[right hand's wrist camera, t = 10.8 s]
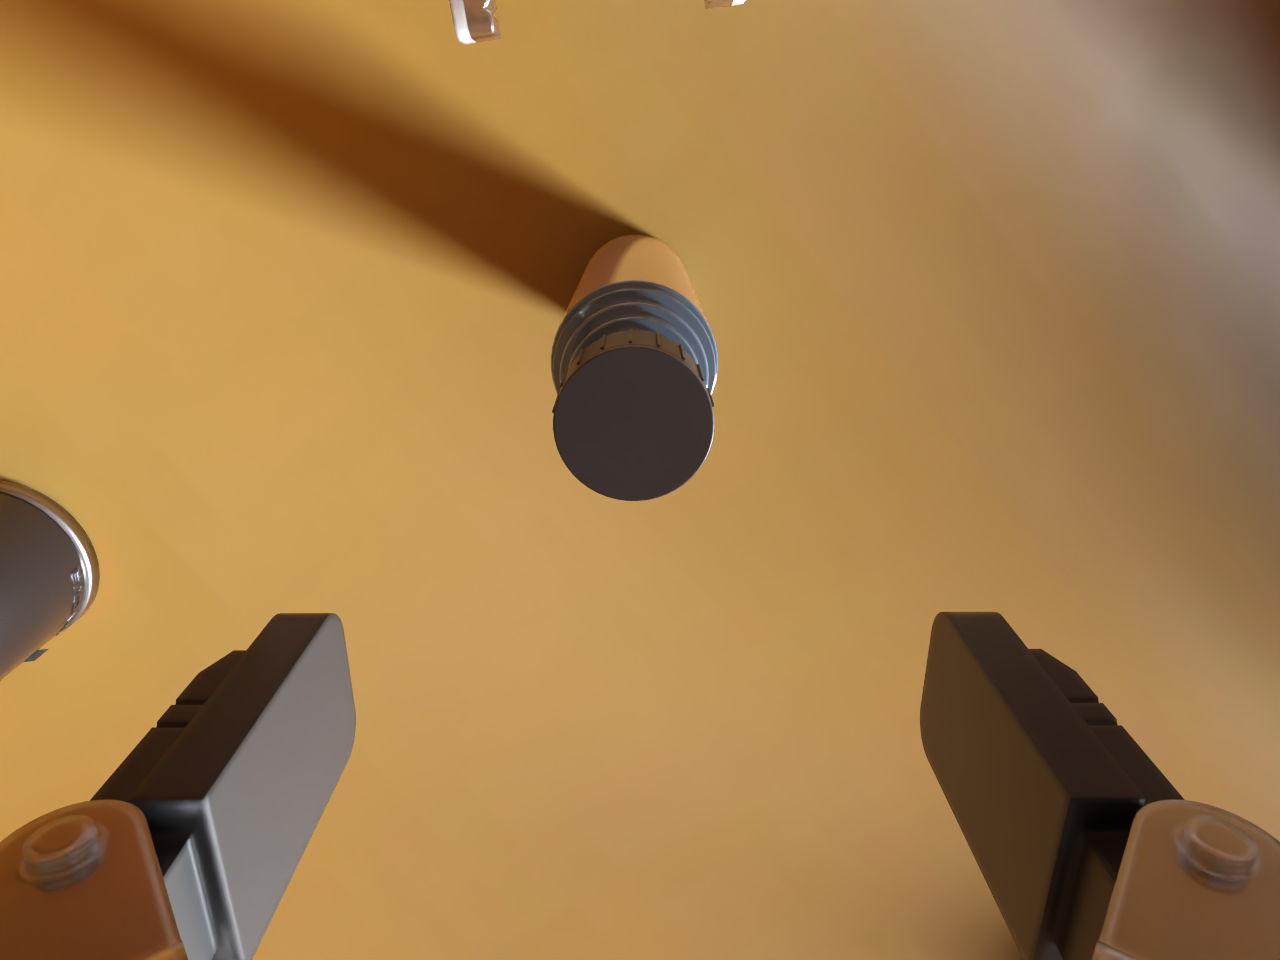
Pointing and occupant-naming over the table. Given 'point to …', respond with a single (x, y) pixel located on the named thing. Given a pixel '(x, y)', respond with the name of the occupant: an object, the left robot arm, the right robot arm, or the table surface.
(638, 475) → the cap
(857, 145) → the table surface
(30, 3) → the table surface
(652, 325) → the bottle
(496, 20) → the left robot arm
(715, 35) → the table surface
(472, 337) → the table surface
